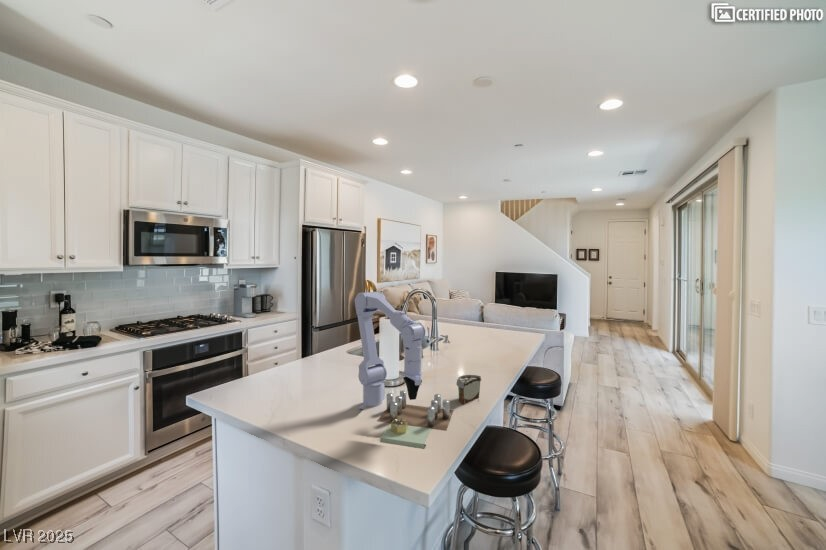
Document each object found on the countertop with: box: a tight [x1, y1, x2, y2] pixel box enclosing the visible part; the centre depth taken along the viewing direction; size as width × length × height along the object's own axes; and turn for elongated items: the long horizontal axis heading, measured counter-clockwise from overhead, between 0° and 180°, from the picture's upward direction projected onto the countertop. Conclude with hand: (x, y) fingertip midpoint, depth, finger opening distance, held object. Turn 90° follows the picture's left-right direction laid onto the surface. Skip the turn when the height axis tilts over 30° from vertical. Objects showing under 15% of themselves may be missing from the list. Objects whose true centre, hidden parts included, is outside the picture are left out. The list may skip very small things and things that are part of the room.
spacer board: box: [376, 403, 454, 431], centre depth 124 cm, size 16×24×2 cm, turn 75°
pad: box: [379, 423, 432, 450], centre depth 112 cm, size 10×14×2 cm
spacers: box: [386, 389, 451, 427], centre depth 124 cm, size 13×23×6 cm, turn 75°
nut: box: [391, 418, 408, 434], centre depth 114 cm, size 6×5×3 cm
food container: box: [456, 374, 482, 405], centre depth 140 cm, size 12×6×10 cm, turn 134°
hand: (412, 398), depth 119 cm, fingers closed
